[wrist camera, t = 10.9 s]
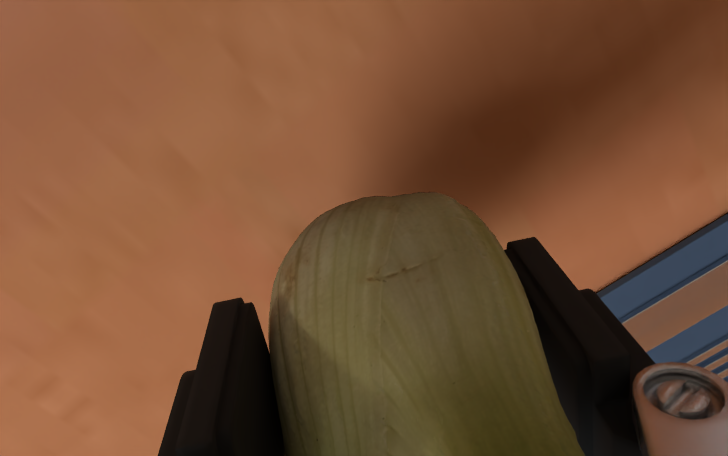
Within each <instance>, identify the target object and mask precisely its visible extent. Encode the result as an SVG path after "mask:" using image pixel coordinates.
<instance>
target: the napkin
mask: <svg viewBox="0 0 728 456" xmlns="http://www.w3.org/2000/svg"><path fill="white" fill-rule="evenodd" d="M726 255H728V213H727V214H726V215H724V216H723V217H721V218H719V219H718V220H716V221H714V222H713V223H711V224H709V225H708V226H706V227H705V228H703V229H701V230H700V231H698V232H696V233H695V234H693V235H691V236H690V237H688V238H687V239H685V240H683V241H682V242H680V243H678V244H677V245H675V246H673V247H672V248H670V249H668V250H667V251H665V252H664V253H662V254H660V255H659V256H657V257H655V258H654V259H652V260H650V261H649V262H647V263H646V264H644V265H642V266H641V267H639V268H637V269H636V270H634V271H632V272H631V273H629V274H627V275H626V276H624V277H623V278H621V279H619V280H618V281H616V282H614V283H613V284H611V285H609V286H608V287H606V288H605V289H603V290H601V291H600V292H598V293H596V294H597V295H598V296H599V298H600V299H601V300H602V301H603V302H604V304H605V305H606V306H607V307H608V308H609V309H610V311H611V312H612V313H613V314H614V315H615V316H616V318H617V319H618V320H619V319H620V318H622V317H624V316H625V315H627V314H629V313H630V312H632V311H634V310H635V309H637V308H639V307H640V306H642V305H644V304H645V303H647V302H649V301H650V300H652V299H654V298H655V297H657V296H659V295H661V294H662V293H664V292H666V291H667V290H669V289H671V288H672V287H674V286H676V285H677V284H679V283H681V282H682V281H684V280H686V279H687V278H689V277H691V276H692V275H694V274H696V273H697V272H699V271H701V270H702V269H704V268H706V267H707V266H709V265H711V264H712V263H714V262H716V261H718V260H719V259H721V258H723V257H724V256H726ZM727 334H728V305H727V306H726V307H724V308H722V309H720V310H719V311H717V312H715V313H713V314H712V315H710V316H708V317H707V318H705V319H703V320H701V321H700V322H698V323H696V324H694V325H693V326H691V327H689V328H688V329H686V330H684V331H682V332H681V333H679V334H677V335H675V336H674V337H672V338H670V339H669V340H667V341H665V342H663V343H662V344H660V345H658V346H657V347H655V348H653V349H651V350H650V351H648V352H646V353H647V354H648V355H649V356H650V358H651V359H652V360H653V361H654V362H655V363H656V364H657V363H666V362H680V361H682V360H683V359H685V358H687V357H689V356H690V355H692V354H694V353H696V352H697V351H699V350H701V349H703V348H704V347H706V346H708V345H710V344H711V343H713V342H715V341H717V340H718V339H720V338H722V337H724V336H725V335H727ZM727 349H728V347H727V348H725V349H723V350H721V351H719V352H718V353H716V354H714V355H712V356H711V357H709V358H707V359H705V360H704V361H702V362H700V363H698V364H696V365H695V366H699V365H700V364H702V363H704V362H706V361H707V360H709V359H711V358H713V357H714V356H716V355H718V354H720V353H722V352H723V351H725V350H727ZM726 364H728V362H726V363H724V364H722V365H721V366H719V367H717V368H715V369H713V370H712V371H711V372H713V371H715V370H717V369H719V368H721V367H722V366H724V365H726ZM726 378H728V376H726V377H725V378H723V380H724V379H726Z"/></svg>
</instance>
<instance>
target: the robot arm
mask: <svg viewBox="0 0 728 456" xmlns="http://www.w3.org/2000/svg"><path fill="white" fill-rule="evenodd" d="M504 252H505V253H506V255H507V257H508V258H509V260H510V262H511V264H512V266H513V267H514V269H515V271H516V272H517V275H518V277H519V279H520V281H521V284H522V286H523V288H524V291H525V293H526V296H527V299H528V301H529V304H530V307H531V309H532V312H533V316H534V320H535V323H536V326H537V329H538V332H539V336H540V340H541V343H542V347H543V350H544V353H545V357H546V360H547V364H548V367H549V370H550V374H551V377H552V380H553V383H554V386H555V389H556V392H557V395H558V398H559V401H560V404H561V406H562V408H563V410H564V413H565V415H566V417H567V419H568V420H569V422H570V424H571V426H572V428H573V429H574V431H575V434H576V438H577V441H578V444H579V445H580V447H581V449H582V451H583V452H584V454H585V456H728V383H727V382H726V381H725V380H723V379H722V378H721V377H719V376H718V375H717V374H715V373H713V372H711V371H709V370H707V369H705V368H702V367H699V366H695V365H691V364H688V363H678V362H666V363H657V364H656V363H655V362H654V361H653V360H652V359H651V358H650V356H649V355H648V354H647V353H646V352H645V350H644V349H643V348H642V347H641V346H640V345H639V343H638V342H637V341H636V340H635V339H634V338H633V336H632V335H631V334H630V333H629V332H628V331H627V329H626V328H625V327H624V326H623V325H622V323H621V322H620V321H619V320H618V319H617V318H616V316H615V315H614V314H613V313H612V312H611V311H610V309H609V308H608V307H607V306H606V305H605V304H604V302H603V301H602V300H601V299H600V298H599V296H598V295H597V294H596V293H595V292H594V291H593V290H591V289H584V290H578V289H577V288H576V287H575V286H574V284H573V283H572V282H571V281H570V279H569V278H568V277H567V276H566V274H565V273H564V272H563V271H562V269H561V268H560V267H559V266H558V264H557V263H556V262H555V261H554V260H553V258H552V257H551V256H550V255H549V253H548V252H547V251H546V250H545V248H544V247H543V246H542V245H541V243H540V242H539V241H538V240H537V239H536V238H535V237H531V238H527V239H522V240H517V241H512V242H508V243H507V250H504ZM158 456H285V448H284V442H283V434H282V428H281V423H280V418H279V412H278V406H277V400H276V395H275V389H274V384H273V377H272V368H271V362H270V354H269V350H268V347H267V344H266V341H265V338H264V335H263V332H262V329H261V325H260V322H259V319H258V316H257V313H256V310H255V307H254V305H253V303H252V302H250V303H246V304H245V303H244V301H243V299H242V298H236V299H231V300H227V301H222V302H217V303H214V305H213V307H212V311H211V315H210V319H209V322H208V326H207V330H206V334H205V337H204V341H203V345H202V349H201V353H200V356H199V360H198V364H197V368H196V370H192V371H187V372H185V373H184V374H183V375H182V377H181V379H180V383H179V386H178V389H177V393H176V396H175V399H174V403H173V406H172V410H171V413H170V416H169V420H168V423H167V426H166V430H165V433H164V437H163V440H162V443H161V447H160V450H159V453H158Z"/></svg>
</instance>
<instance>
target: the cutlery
mask: <svg viewBox="0 0 728 456" xmlns="http://www.w3.org/2000/svg"><path fill="white" fill-rule="evenodd" d="M727 305H728V255H726V256H724V257H723V258H721V259H719V260H718V261H716V262H714V263H712V264H711V265H709V266H707V267H706V268H704V269H702V270H701V271H699V272H697V273H696V274H694V275H692V276H691V277H689V278H687V279H686V280H684V281H682V282H681V283H679V284H677V285H676V286H674V287H672V288H671V289H669V290H667V291H666V292H664V293H662V294H661V295H659V296H657V297H655V298H654V299H652V300H650V301H649V302H647V303H645V304H644V305H642V306H640V307H639V308H637V309H635V310H634V311H632V312H630V313H629V314H627V315H625V316H624V317H622V318H620V319H619V321H620V322H621V323H622V325H623V326H624V327H625V328H626V329H627V331H628V332H629V333H630V334H631V335H632V336H633V338H634V339H635V340H636V341H637V342H638V343H639V345H640V346H641V347H642V348H643V349H644V350H645V352H648V351H650V350H651V349H653V348H655V347H657V346H658V345H660V344H662V343H663V342H665V341H667V340H669V339H670V338H672V337H674V336H675V335H677V334H679V333H681V332H682V331H684V330H686V329H688V328H689V327H691V326H693V325H694V324H696V323H698V322H700V321H701V320H703V319H705V318H707V317H708V316H710V315H712V314H713V313H715V312H717V311H719V310H720V309H722V308H724V307H726V306H727ZM727 347H728V334H727V335H725V336H724V337H722V338H720V339H718V340H717V341H715V342H713V343H711V344H710V345H708V346H706V347H704V348H703V349H701V350H699V351H697V352H696V353H694V354H692V355H690V356H689V357H687V358H685V359H683V360H682V361H680V362H678V363H688V364H691V365H696V364H698V363H700V362H702V361H704V360H705V359H707V358H709V357H711V356H712V355H714V354H716V353H718V352H719V351H721V350H723V349H725V348H727ZM726 362H728V349H727V350H725V351H723V352H722V353H720V354H718V355H716V356H714V357H713V358H711V359H709V360H707V361H706V362H704V363H702V364H700V365H699V367H702V368H705V369H707V370H709V371H712V370H713V369H715V368H717V367H719V366H721V365H722V364H724V363H726ZM713 373H715V374H717V375H718V376H719V377H721V378H722V379H723V378H725V377H726V376H728V364H726V365H724V366H722V367H721V368H719V369H717V370H715V371H713ZM724 380H725V381H726V382H727V383H728V378H726V379H724Z"/></svg>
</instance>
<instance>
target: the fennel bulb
mask: <svg viewBox="0 0 728 456" xmlns="http://www.w3.org/2000/svg"><path fill="white" fill-rule="evenodd" d="M268 340H269V350H270V362H271V368H272V377H273V384H274V389H275V395H276V400H277V406H278V412H279V418H280V423H281V428H282V434H283V442H284V448H285V456H585V454H584V452H583V451H582V449H581V447H580V445H579V444H578V441H577V438H576V434H575V431H574V429H573V428H572V426H571V424H570V422H569V420H568V419H567V417H566V415H565V413H564V410H563V408H562V406H561V404H560V401H559V398H558V395H557V392H556V389H555V386H554V383H553V380H552V377H551V374H550V370H549V367H548V364H547V360H546V357H545V353H544V350H543V347H542V343H541V340H540V336H539V332H538V329H537V326H536V323H535V320H534V316H533V312H532V309H531V307H530V304H529V301H528V299H527V296H526V293H525V291H524V288H523V286H522V284H521V281H520V279H519V277H518V275H517V272H516V271H515V269H514V267H513V266H512V264H511V262H510V260H509V258H508V257H507V255H506V253H505V252H504V250H503V248H502V247H501V245H500V243H499V242H498V240H497V239H496V236H495V235H494V234H493V233H492V232H491V231H490V230H489V228H488V227H487V226H486V225H485V223H484V222H483V221H482V220H481V219H480V218H479V217H478V216H477V215H476V214H475V213H474V212H473V211H471V210H470V209H468V207H466V206H464V205H461V204H460V203H458V202H457V201H456V200H455V199H453V198H451V197H449V196H447V195H445V194H440V193H437V192H428V193H425V192H418V193H413V194H403V195H399V196H392V197H389V196H388V197H386V196H373V197H364V198H361V199H358V200H355V201H351V202H348V203H345V204H342V205H339V206H337V207H335V208H333V209H331V210H329V211H327V212H325V213H324V214H322V215H320V216H319V217H317V218H316V219H315V220H314V221H313V222H312V223H311V224H310V225H309V226H308V227H307V228H306V229H305V230H304V231H303V232H302V233H301V234H300V235H299V237H298V239H297V240H296V241H295V243H294V244H293V245H292V247H291V248H290V250H289V252H288V253H287V255H286V256H285V258H284V260H283V262H282V263H281V265H280V267H279V270H278V272H277V275H276V278H275V281H274V284H273V289H272V295H271V303H270V312H269V332H268Z"/></svg>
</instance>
